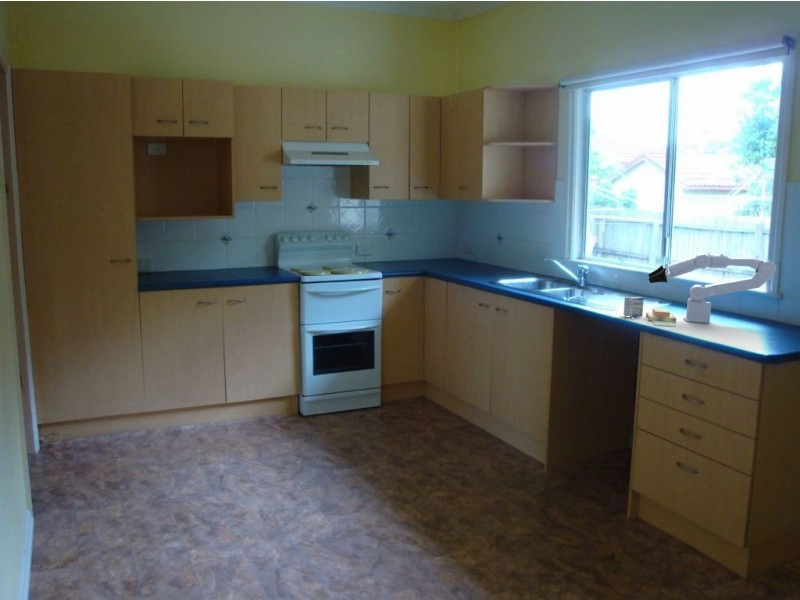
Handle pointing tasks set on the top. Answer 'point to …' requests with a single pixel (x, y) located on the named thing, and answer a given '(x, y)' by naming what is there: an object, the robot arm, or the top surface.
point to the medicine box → (633, 306)
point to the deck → (661, 318)
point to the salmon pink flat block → (661, 312)
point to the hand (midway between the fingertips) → (649, 278)
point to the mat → (664, 323)
